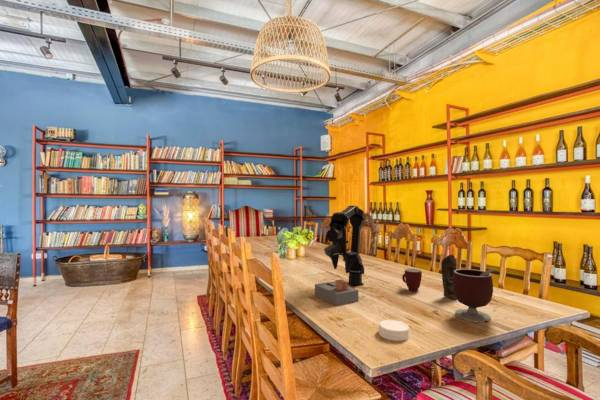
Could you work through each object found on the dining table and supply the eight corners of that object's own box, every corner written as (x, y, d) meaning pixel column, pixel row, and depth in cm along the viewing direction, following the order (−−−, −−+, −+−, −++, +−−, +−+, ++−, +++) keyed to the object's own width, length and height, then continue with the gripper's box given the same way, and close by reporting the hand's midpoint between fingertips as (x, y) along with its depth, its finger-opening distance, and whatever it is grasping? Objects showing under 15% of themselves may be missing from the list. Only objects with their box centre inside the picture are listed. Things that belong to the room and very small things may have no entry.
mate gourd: (445, 313, 124) (444, 263, 124) (466, 307, 131) (465, 260, 131) (484, 327, 110) (483, 271, 110) (505, 320, 117) (505, 267, 117)
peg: (342, 298, 144) (342, 279, 144) (347, 301, 140) (347, 281, 140) (335, 300, 142) (335, 280, 142) (340, 302, 138) (340, 282, 138)
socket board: (335, 291, 156) (335, 281, 156) (358, 301, 140) (358, 290, 140) (314, 294, 150) (314, 284, 150) (336, 305, 134) (336, 294, 134)
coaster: (379, 327, 111) (379, 317, 111) (408, 330, 108) (408, 320, 108) (378, 339, 102) (377, 329, 102) (410, 343, 99) (410, 332, 99)
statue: (454, 300, 140) (453, 256, 141) (440, 296, 147) (440, 253, 147) (463, 298, 144) (463, 254, 144) (450, 294, 150) (449, 252, 150)
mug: (397, 288, 159) (397, 269, 159) (406, 286, 164) (406, 267, 164) (416, 293, 151) (416, 273, 151) (424, 290, 156) (424, 270, 156)
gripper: (316, 238, 154) (316, 269, 154) (338, 242, 138) (339, 277, 138) (334, 236, 159) (334, 266, 160) (358, 240, 143) (358, 274, 143)
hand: (341, 270), depth 150 cm, fingers open, 9 cm apart
